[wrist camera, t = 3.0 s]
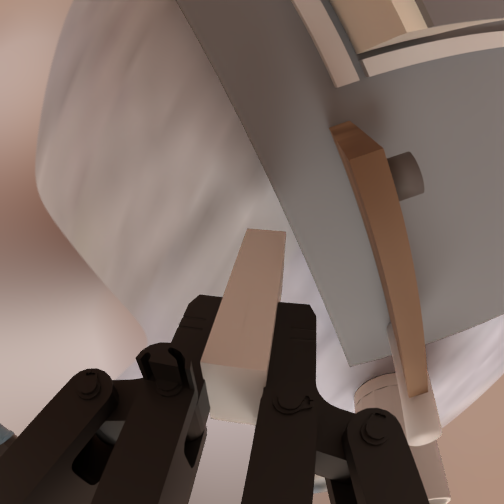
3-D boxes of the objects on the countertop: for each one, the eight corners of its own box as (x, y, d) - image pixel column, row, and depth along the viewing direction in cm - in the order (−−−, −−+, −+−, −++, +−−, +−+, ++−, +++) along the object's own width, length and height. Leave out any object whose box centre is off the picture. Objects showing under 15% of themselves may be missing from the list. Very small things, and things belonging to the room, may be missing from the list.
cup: (426, 355, 22) (456, 489, 12) (428, 401, 25) (446, 507, 15) (336, 381, 24) (335, 515, 14) (354, 421, 28) (355, 527, 18)
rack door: (389, 316, 18) (408, 398, 12) (328, 127, 13) (348, 159, 8) (425, 304, 17) (454, 382, 12) (377, 111, 12) (428, 133, 7)
